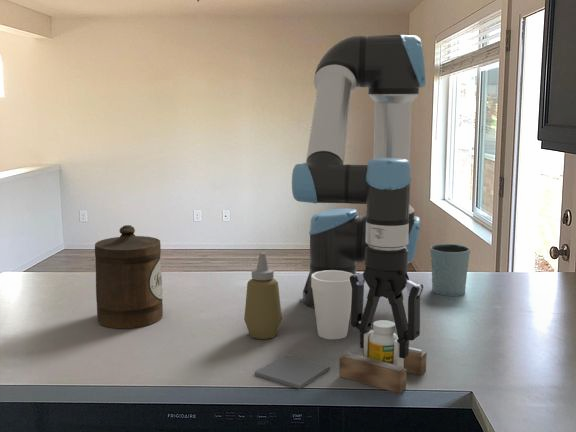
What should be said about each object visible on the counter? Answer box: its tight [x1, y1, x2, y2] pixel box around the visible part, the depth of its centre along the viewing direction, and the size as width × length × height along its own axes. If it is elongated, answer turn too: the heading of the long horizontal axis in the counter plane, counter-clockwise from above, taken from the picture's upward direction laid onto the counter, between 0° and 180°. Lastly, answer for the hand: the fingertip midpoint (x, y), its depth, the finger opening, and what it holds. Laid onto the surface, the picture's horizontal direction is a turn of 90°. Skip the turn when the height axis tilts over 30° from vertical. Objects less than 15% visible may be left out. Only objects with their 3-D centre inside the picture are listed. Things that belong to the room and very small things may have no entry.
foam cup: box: [311, 270, 354, 340], centre depth 131 cm, size 10×9×13 cm
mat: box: [254, 353, 331, 389], centre depth 113 cm, size 10×10×1 cm
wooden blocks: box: [338, 346, 428, 394], centre depth 112 cm, size 12×11×4 cm
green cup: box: [429, 243, 471, 297], centre depth 162 cm, size 10×10×12 cm
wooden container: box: [94, 224, 164, 330], centre depth 141 cm, size 15×15×22 cm
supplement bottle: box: [369, 319, 398, 364], centre depth 112 cm, size 5×5×10 cm
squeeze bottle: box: [243, 252, 283, 340], centre depth 130 cm, size 8×8×18 cm
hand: (383, 369), depth 112 cm, fingers closed on supplement bottle, 5 cm apart
